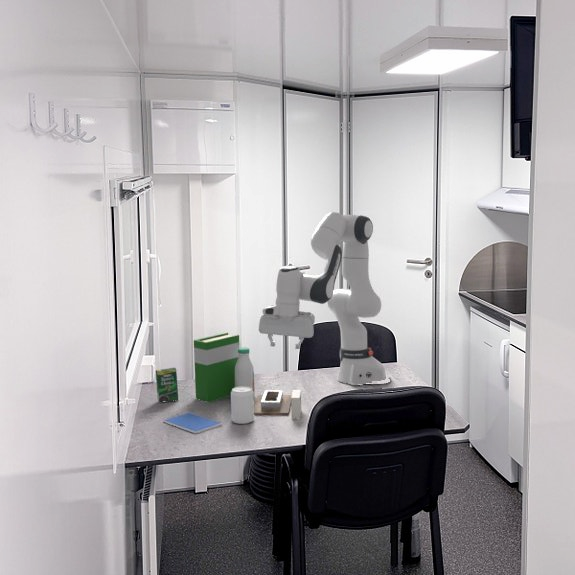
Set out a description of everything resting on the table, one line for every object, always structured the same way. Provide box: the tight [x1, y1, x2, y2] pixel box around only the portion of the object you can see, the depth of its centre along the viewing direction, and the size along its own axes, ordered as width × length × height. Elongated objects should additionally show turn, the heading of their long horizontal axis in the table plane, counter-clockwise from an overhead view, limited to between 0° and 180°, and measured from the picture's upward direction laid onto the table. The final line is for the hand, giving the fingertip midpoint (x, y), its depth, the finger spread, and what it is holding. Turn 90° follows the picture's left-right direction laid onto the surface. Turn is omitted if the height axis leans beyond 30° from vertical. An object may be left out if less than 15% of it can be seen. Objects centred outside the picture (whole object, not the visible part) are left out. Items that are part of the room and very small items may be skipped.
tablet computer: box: [162, 412, 223, 434], centre depth 269 cm, size 19×13×1 cm, turn 46°
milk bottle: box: [235, 346, 255, 398], centre depth 298 cm, size 8×8×20 cm
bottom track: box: [261, 390, 284, 410], centre depth 288 cm, size 7×15×3 cm, turn 176°
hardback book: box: [193, 332, 241, 403], centre depth 301 cm, size 18×7×24 cm, turn 137°
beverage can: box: [230, 386, 255, 425], centre depth 270 cm, size 8×8×12 cm
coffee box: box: [155, 367, 179, 403], centre depth 295 cm, size 8×3×13 cm, turn 110°
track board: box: [254, 394, 292, 416], centre depth 288 cm, size 14×22×1 cm, turn 176°
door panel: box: [290, 389, 302, 420], centre depth 277 cm, size 3×10×8 cm, turn 176°
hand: (285, 347), depth 276 cm, fingers open, 8 cm apart
